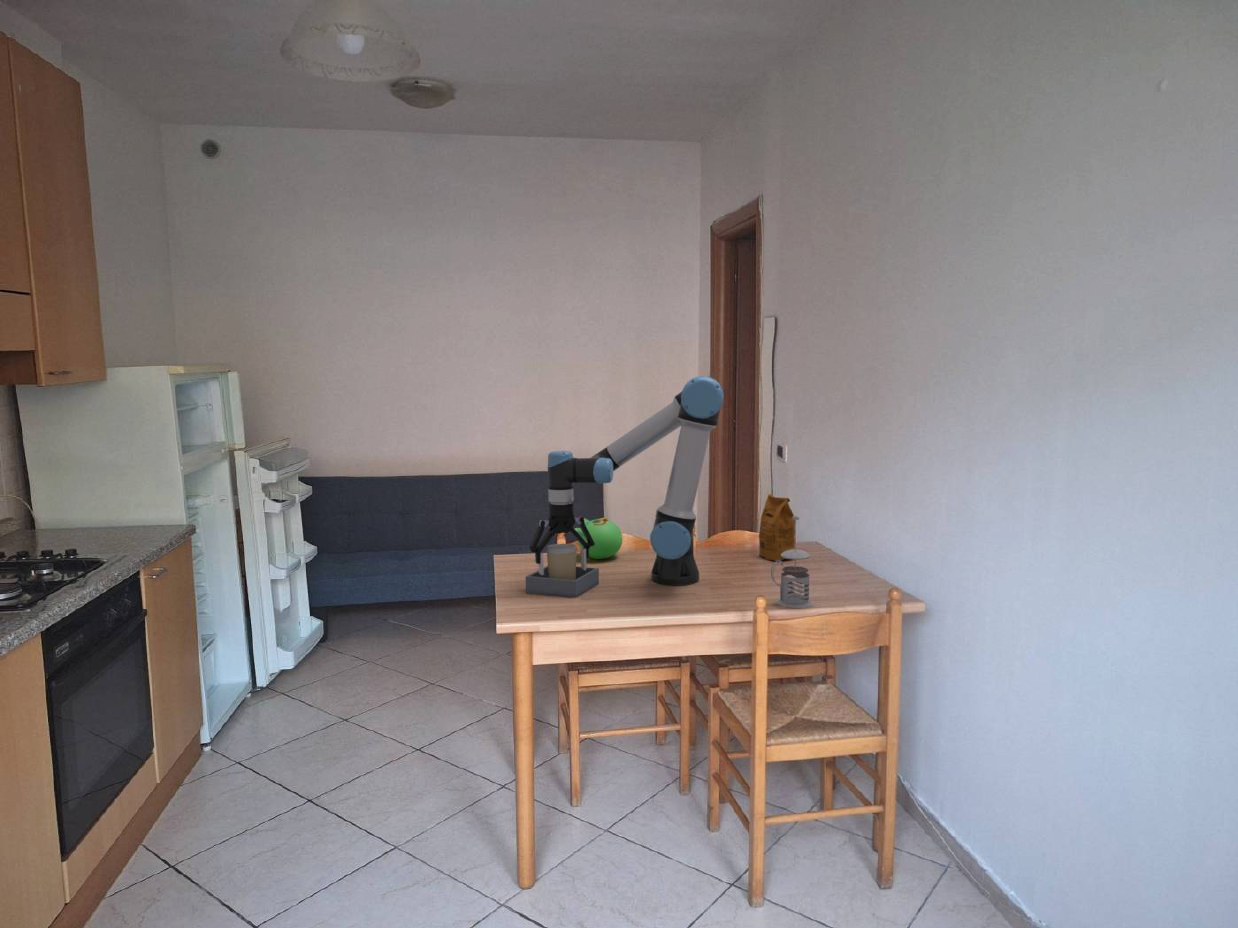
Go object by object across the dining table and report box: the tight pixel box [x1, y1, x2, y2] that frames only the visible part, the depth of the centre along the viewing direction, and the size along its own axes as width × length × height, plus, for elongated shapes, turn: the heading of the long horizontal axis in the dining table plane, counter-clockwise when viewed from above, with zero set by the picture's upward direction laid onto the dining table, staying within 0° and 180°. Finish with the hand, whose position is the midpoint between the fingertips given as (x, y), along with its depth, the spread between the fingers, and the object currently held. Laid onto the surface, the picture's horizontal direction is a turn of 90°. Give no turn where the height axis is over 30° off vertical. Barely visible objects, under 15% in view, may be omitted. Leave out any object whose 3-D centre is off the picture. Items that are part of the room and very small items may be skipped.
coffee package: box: [758, 493, 795, 562], centre depth 281 cm, size 10×12×22 cm
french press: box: [770, 514, 814, 609], centre depth 226 cm, size 10×12×25 cm
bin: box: [525, 565, 600, 598], centre depth 246 cm, size 17×17×5 cm
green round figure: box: [573, 517, 623, 560], centre depth 285 cm, size 18×17×15 cm
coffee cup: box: [545, 543, 578, 580], centre depth 245 cm, size 9×9×12 cm
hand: (562, 571), depth 245 cm, fingers open, 13 cm apart
